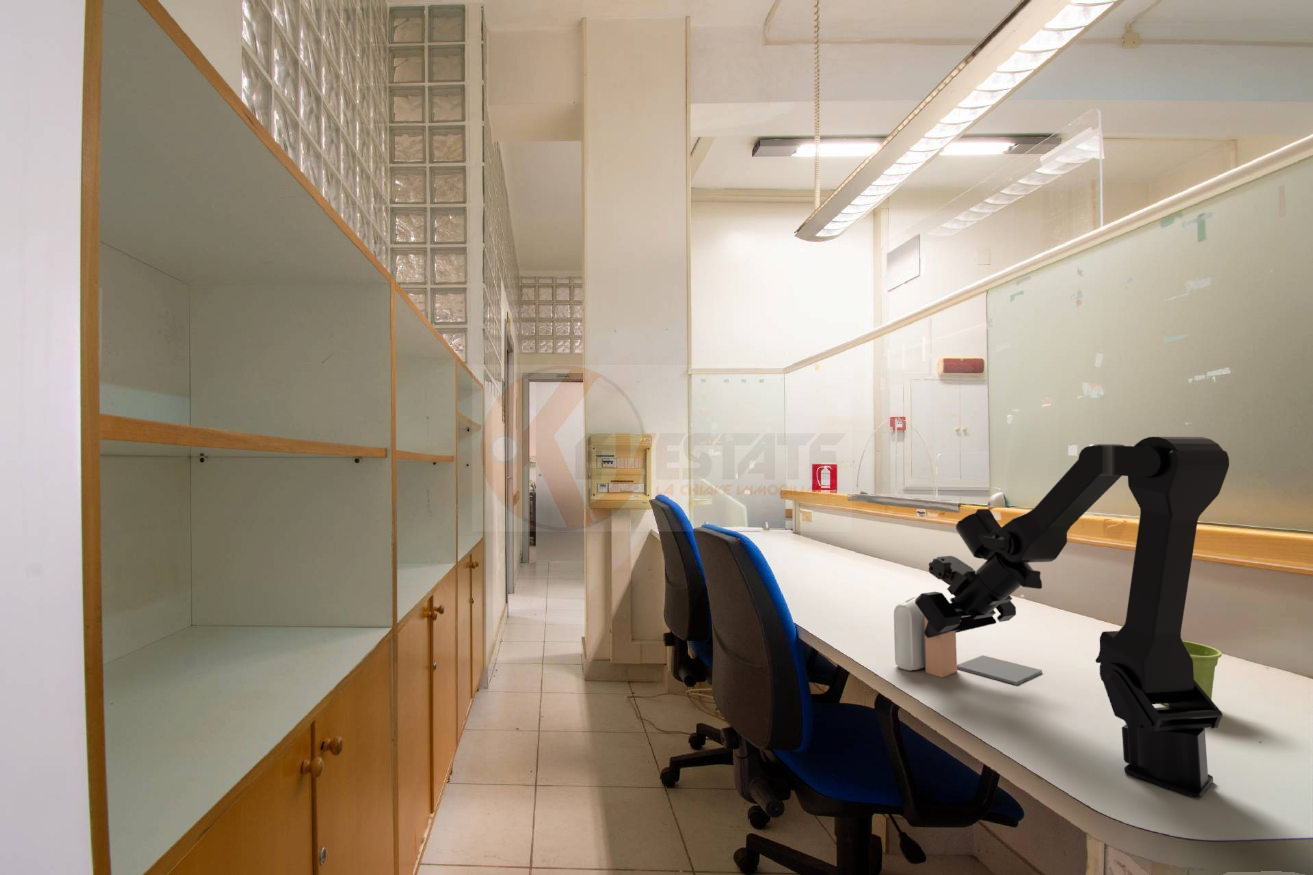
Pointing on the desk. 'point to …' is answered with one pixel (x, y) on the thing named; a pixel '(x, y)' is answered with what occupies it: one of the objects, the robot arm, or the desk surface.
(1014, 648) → the desk surface
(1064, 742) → the desk surface
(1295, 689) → the desk surface
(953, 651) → the tan rectangular block
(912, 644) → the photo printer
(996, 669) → the pad
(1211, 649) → the plant pot
